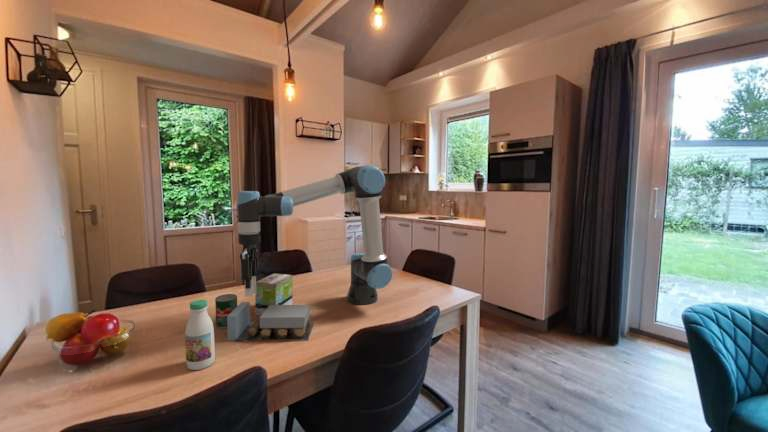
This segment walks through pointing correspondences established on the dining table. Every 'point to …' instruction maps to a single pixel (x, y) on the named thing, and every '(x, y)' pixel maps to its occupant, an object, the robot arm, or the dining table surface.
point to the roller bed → (274, 334)
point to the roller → (254, 328)
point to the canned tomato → (224, 308)
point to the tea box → (273, 292)
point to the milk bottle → (199, 337)
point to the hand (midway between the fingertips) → (250, 294)
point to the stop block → (238, 320)
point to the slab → (285, 316)
